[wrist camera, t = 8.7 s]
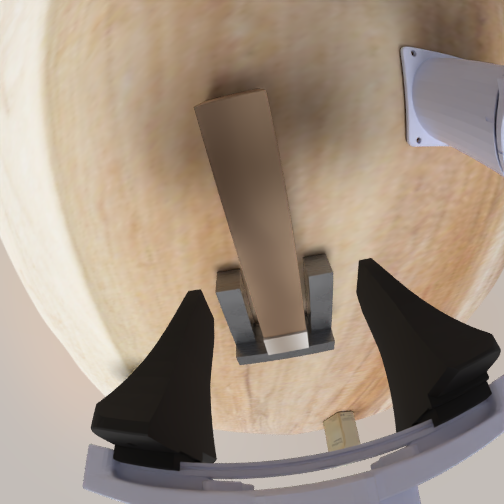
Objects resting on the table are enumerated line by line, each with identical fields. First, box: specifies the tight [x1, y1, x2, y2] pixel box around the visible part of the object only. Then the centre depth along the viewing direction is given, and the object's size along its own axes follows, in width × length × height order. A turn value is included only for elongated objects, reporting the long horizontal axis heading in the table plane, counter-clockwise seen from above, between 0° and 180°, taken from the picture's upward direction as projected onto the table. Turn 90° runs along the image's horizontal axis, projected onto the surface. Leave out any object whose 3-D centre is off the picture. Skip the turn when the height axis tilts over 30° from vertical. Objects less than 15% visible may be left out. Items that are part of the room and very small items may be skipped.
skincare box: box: [323, 411, 360, 468], centre depth 44 cm, size 6×4×12 cm
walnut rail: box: [194, 89, 309, 355], centre depth 19 cm, size 4×20×5 cm, turn 12°
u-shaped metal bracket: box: [216, 254, 335, 365], centre depth 24 cm, size 10×9×4 cm
